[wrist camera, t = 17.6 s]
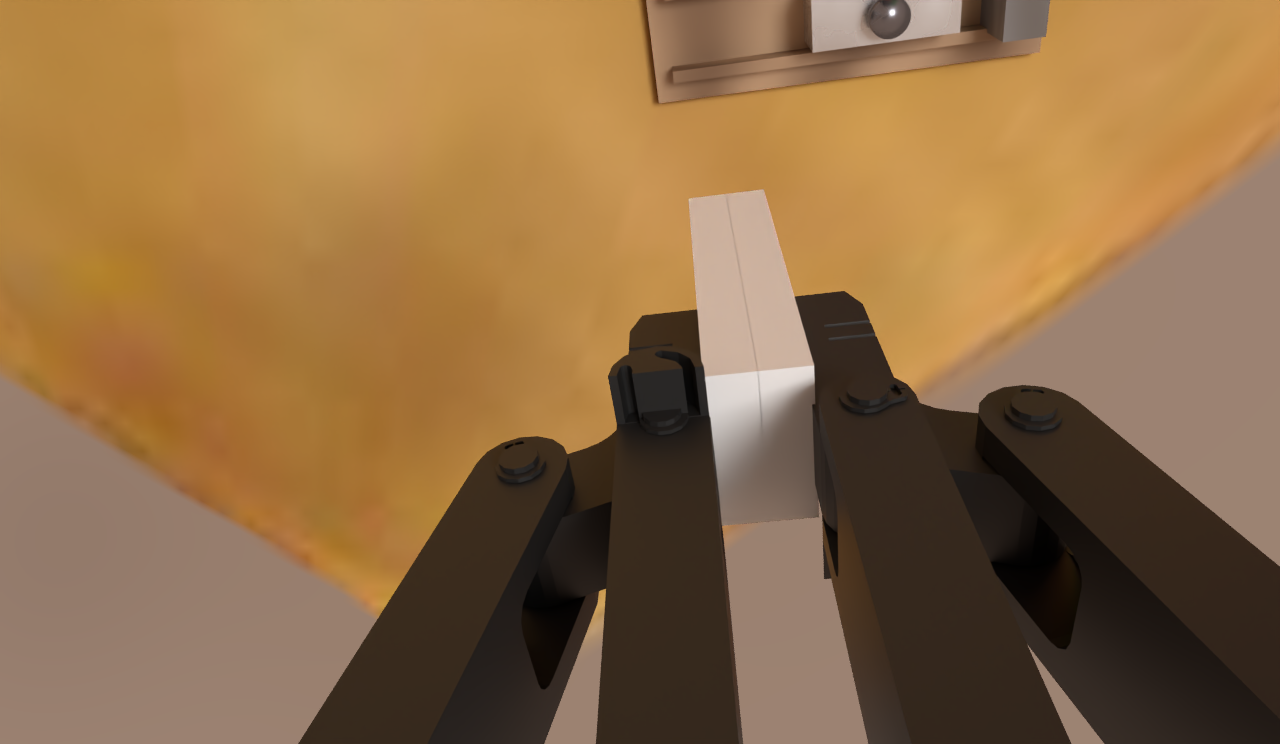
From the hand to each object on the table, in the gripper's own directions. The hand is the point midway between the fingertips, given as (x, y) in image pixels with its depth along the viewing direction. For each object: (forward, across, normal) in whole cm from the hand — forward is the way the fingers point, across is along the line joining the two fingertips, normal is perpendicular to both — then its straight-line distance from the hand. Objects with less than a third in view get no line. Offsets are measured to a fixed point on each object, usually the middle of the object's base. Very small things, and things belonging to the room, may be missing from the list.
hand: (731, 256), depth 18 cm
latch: (+24, +8, 0) cm, 25 cm away
